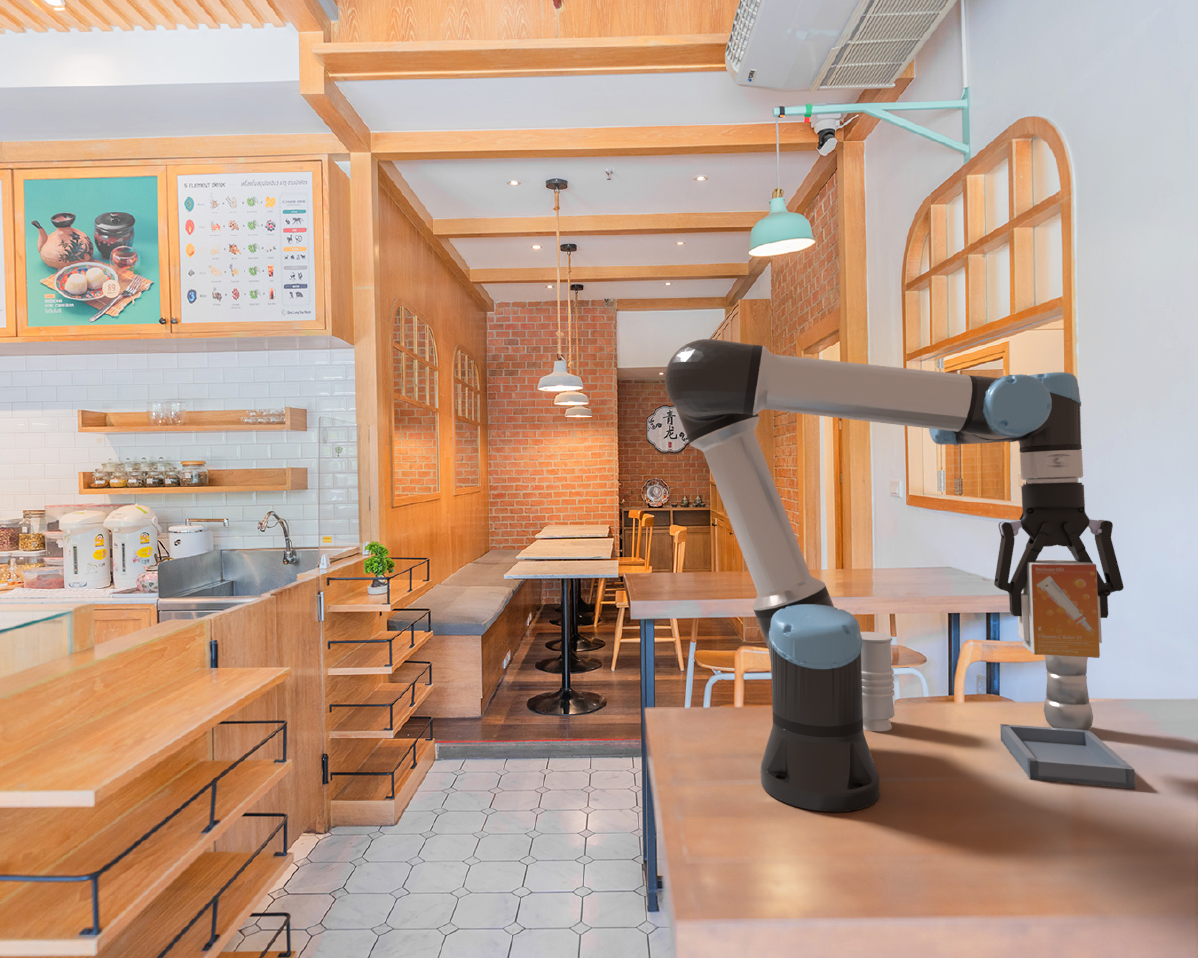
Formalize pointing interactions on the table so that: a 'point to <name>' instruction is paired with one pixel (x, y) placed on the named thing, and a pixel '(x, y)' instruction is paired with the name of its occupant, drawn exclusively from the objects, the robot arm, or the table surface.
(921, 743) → the table surface
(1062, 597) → the small box
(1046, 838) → the table surface
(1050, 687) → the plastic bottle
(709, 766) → the table surface
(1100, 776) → the tray
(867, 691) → the white bottle
